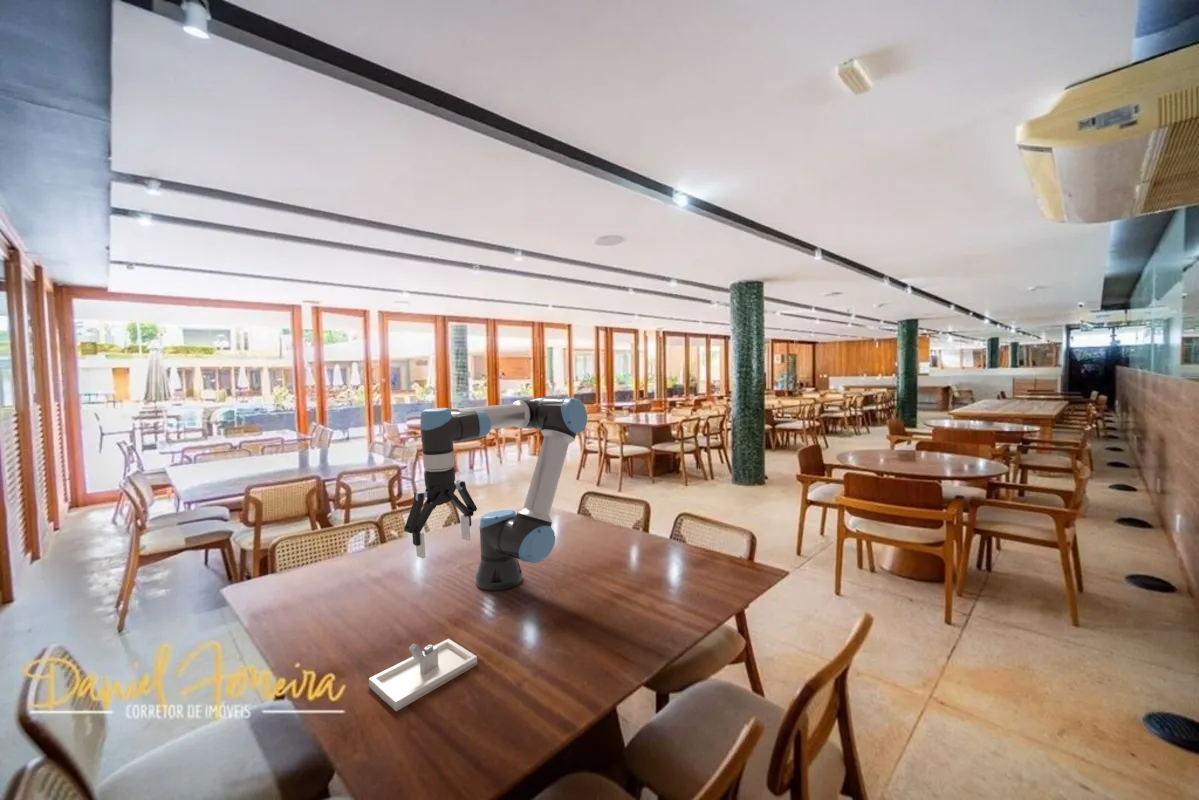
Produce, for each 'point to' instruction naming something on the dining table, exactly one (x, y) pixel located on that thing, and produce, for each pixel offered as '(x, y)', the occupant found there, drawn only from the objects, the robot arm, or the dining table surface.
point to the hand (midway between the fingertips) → (444, 547)
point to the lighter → (425, 657)
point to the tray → (421, 675)
